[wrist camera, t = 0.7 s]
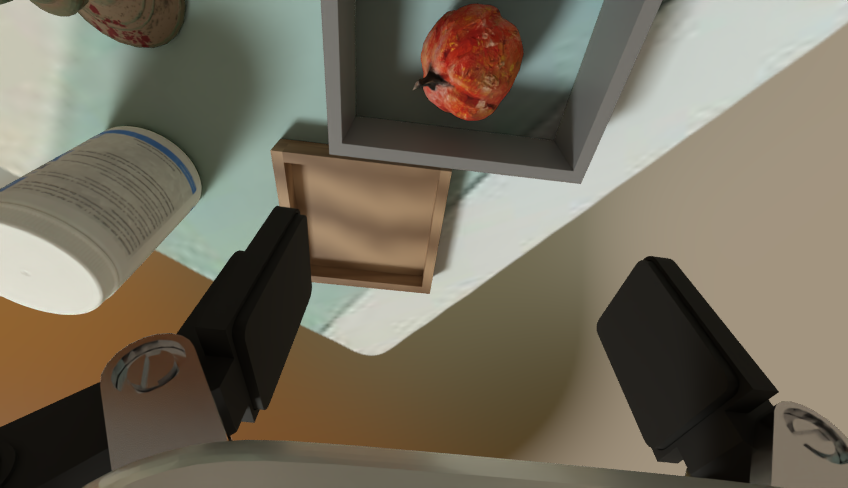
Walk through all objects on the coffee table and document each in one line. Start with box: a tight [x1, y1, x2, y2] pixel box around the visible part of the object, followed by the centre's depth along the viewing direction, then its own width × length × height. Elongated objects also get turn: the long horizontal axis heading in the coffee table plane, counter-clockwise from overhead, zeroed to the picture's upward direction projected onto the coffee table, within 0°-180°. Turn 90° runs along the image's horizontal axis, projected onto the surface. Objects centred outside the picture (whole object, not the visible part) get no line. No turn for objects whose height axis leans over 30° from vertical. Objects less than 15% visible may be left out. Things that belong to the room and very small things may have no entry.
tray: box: [270, 139, 452, 294], centre depth 38 cm, size 16×16×3 cm
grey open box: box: [321, 0, 662, 184], centre depth 26 cm, size 14×20×6 cm
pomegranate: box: [413, 3, 524, 121], centre depth 26 cm, size 7×7×10 cm
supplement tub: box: [0, 126, 202, 315], centre depth 30 cm, size 10×10×15 cm
